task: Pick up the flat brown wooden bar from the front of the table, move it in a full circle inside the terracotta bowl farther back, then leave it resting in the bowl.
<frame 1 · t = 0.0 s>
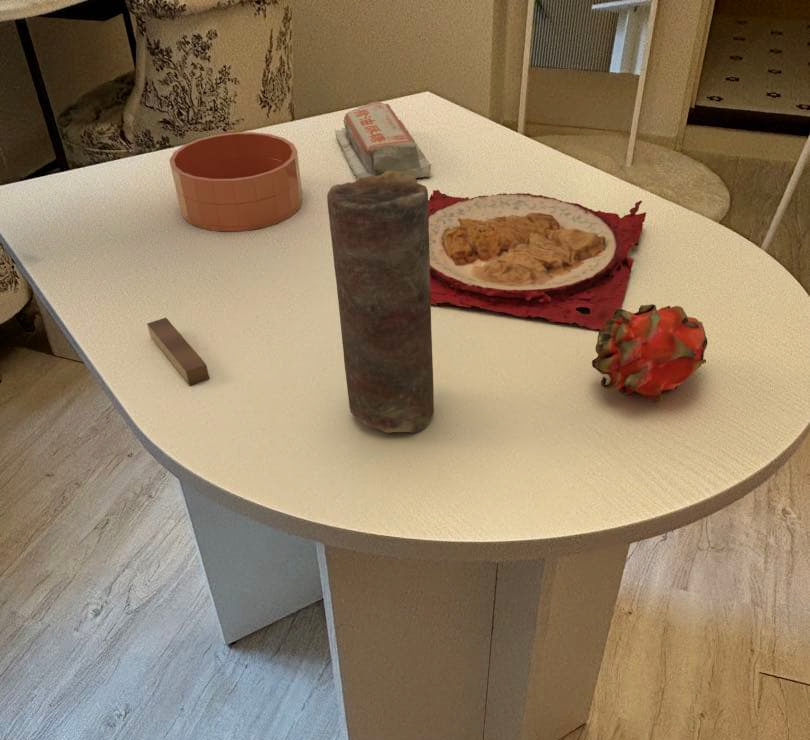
dragon fruit: (644, 385, 72), on the table
candle: (390, 415, 70), on the table
packaged product: (381, 158, 110), on the table
bowl: (241, 204, 100), on the table
plate with food: (514, 262, 89), on the table
brown wooden bar: (179, 357, 77), on the table
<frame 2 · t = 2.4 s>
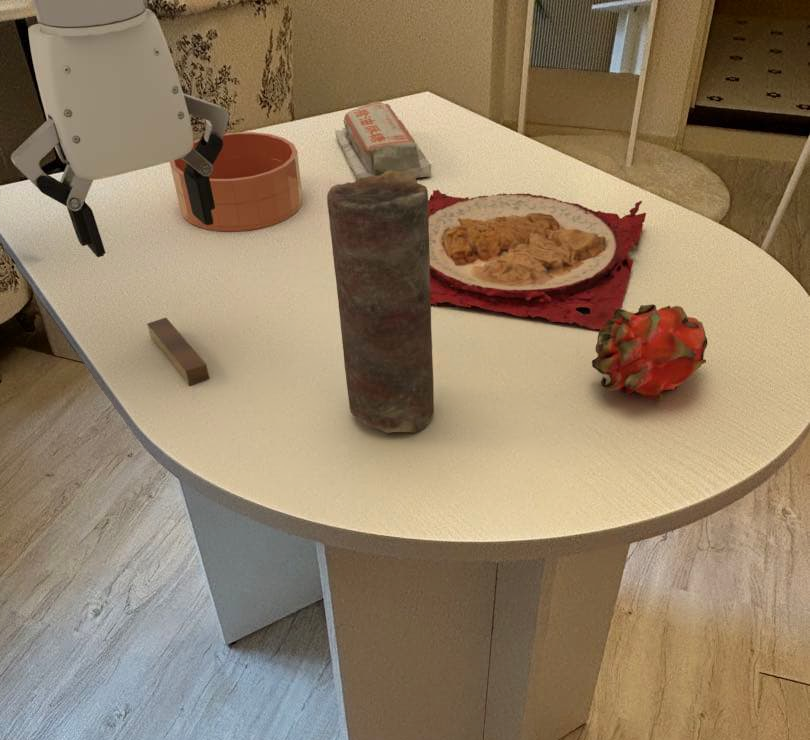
hand: (151, 234, 68), 12 cm above the table, tool pointing down, fingers open, 9 cm apart
nothing on the table moved.
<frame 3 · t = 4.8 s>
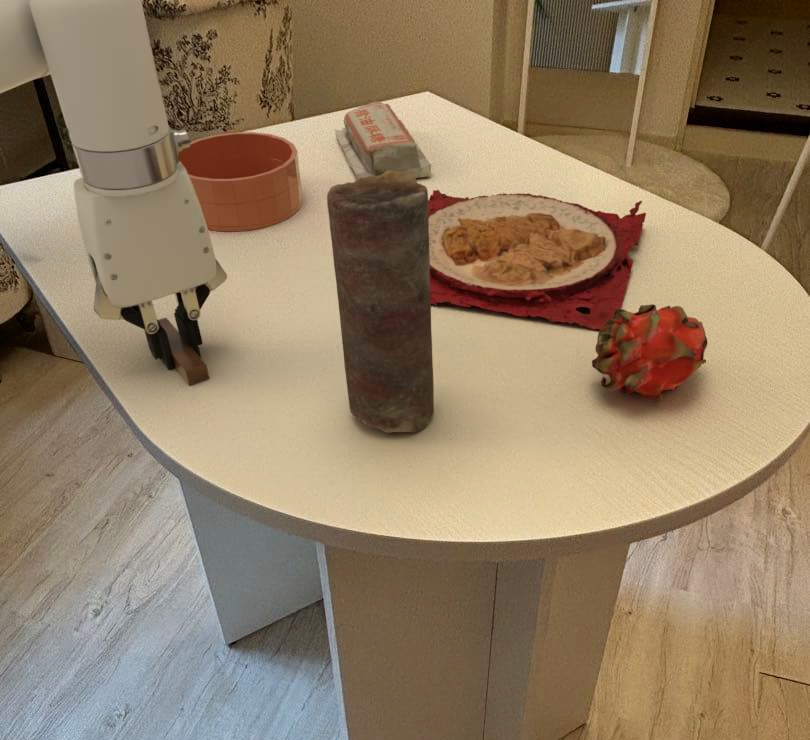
hand: (178, 356, 76), 0 cm above the table, tool pointing down, fingers closed on brown wooden bar, 2 cm apart
brown wooden bar: (179, 357, 77), on the table, touching gripper
everything else where it was.
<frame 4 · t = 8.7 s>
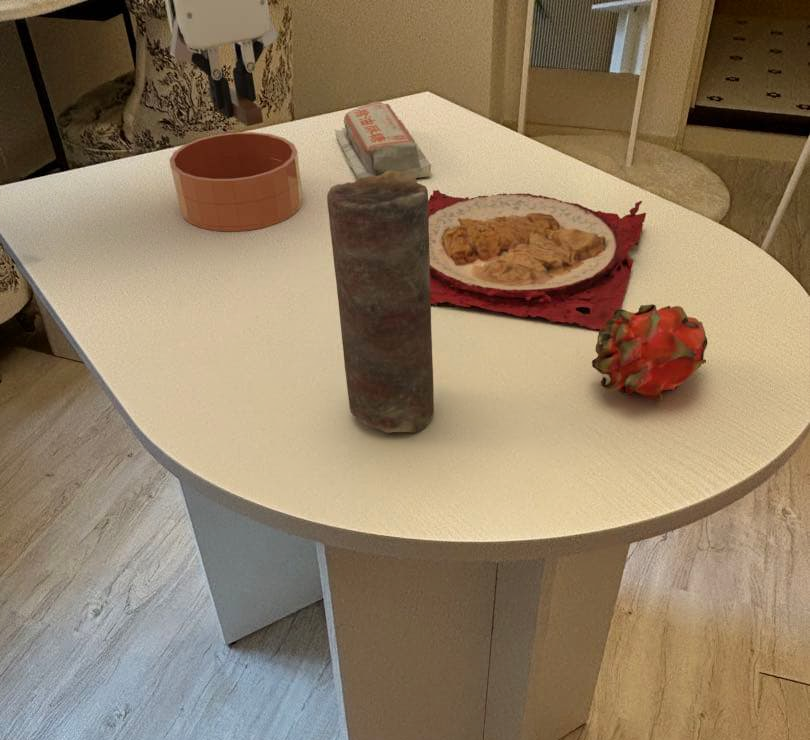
hand: (236, 110, 91), 11 cm above the table, tool pointing down, fingers closed on brown wooden bar
brown wooden bar: (236, 112, 92), point 11 cm above the table, touching gripper
everything else where it was.
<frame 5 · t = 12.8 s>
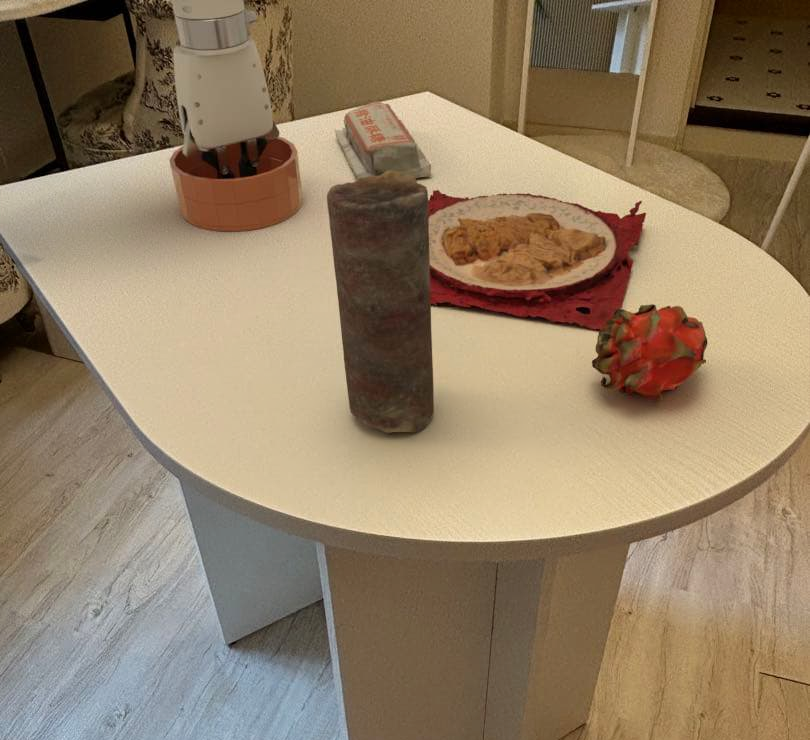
hand: (241, 198, 100), 1 cm above the table, tool pointing down, fingers closed on brown wooden bar, 2 cm apart
brown wooden bar: (241, 199, 100), point 1 cm above the table, touching bowl, gripper
everything else where it was.
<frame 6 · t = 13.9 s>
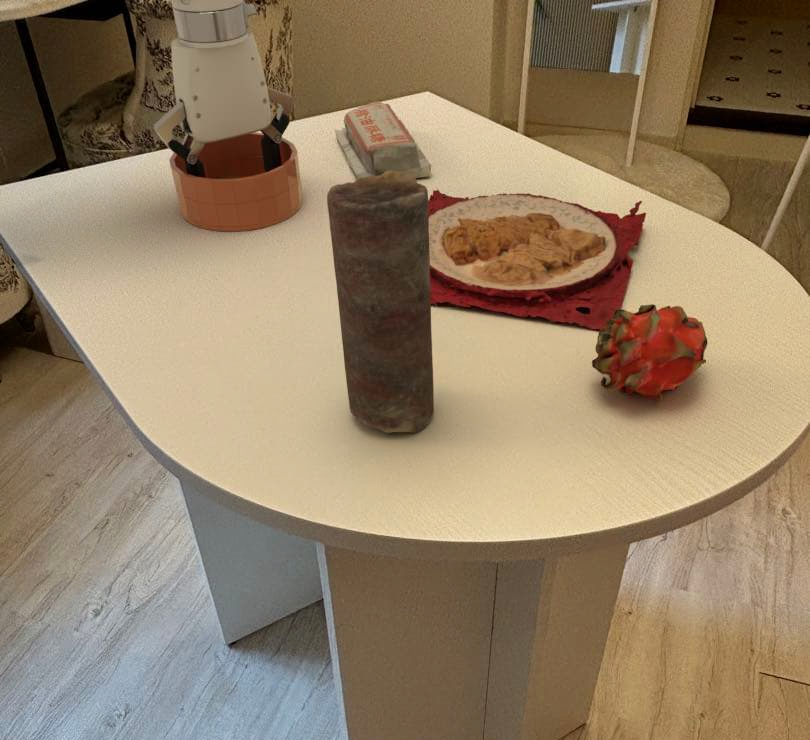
hand: (237, 183, 99), 3 cm above the table, tool pointing down, fingers open, 9 cm apart
brown wooden bar: (242, 199, 100), point 1 cm above the table, touching bowl
everything else where it was.
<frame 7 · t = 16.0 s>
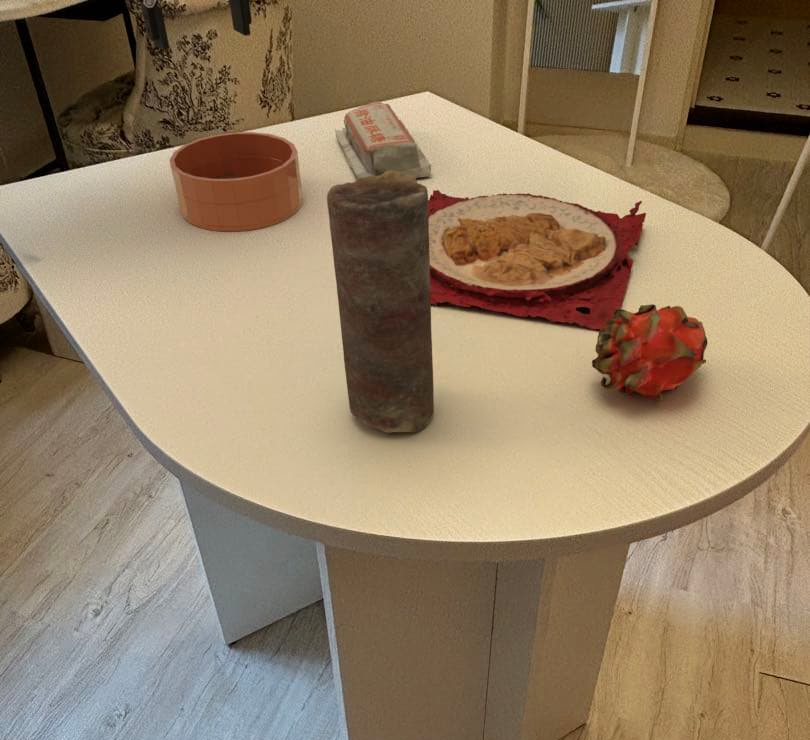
hand: (202, 39, 89), 18 cm above the table, tool pointing down, fingers open, 9 cm apart
nothing on the table moved.
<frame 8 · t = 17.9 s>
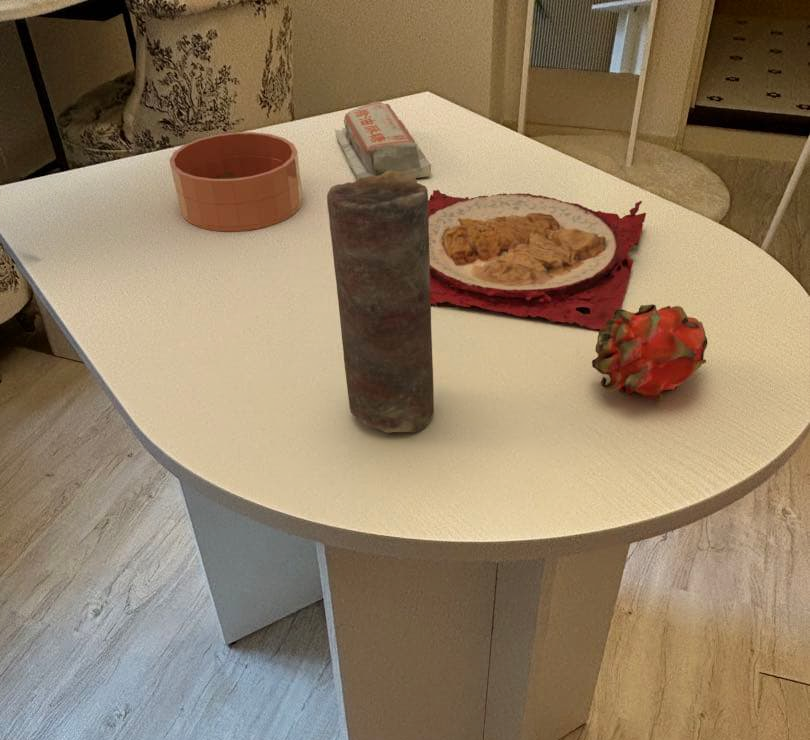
nothing on the table moved.
at the end: brown wooden bar inside the target area in the bowl (0.1 cm from its centre), point 0.6 cm above the bowl's base; the gripper is holding nothing; brown wooden bar moved 34.5 cm from its start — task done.
